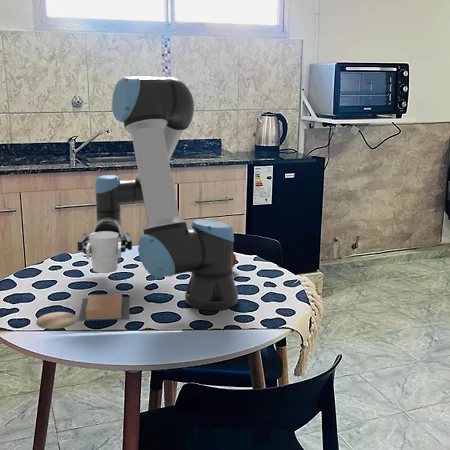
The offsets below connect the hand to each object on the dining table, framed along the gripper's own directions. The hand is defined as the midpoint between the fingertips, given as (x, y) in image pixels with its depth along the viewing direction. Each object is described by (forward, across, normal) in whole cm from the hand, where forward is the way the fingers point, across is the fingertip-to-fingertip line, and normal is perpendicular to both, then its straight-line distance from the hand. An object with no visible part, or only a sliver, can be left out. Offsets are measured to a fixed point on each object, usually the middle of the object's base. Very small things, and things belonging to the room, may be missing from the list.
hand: (103, 253), depth 157 cm
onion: (-29, -38, -16) cm, 51 cm away
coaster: (+8, +12, -16) cm, 21 cm away
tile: (-3, 0, -14) cm, 14 cm away
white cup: (-5, 0, -6) cm, 8 cm away
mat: (+1, 0, -16) cm, 16 cm away
